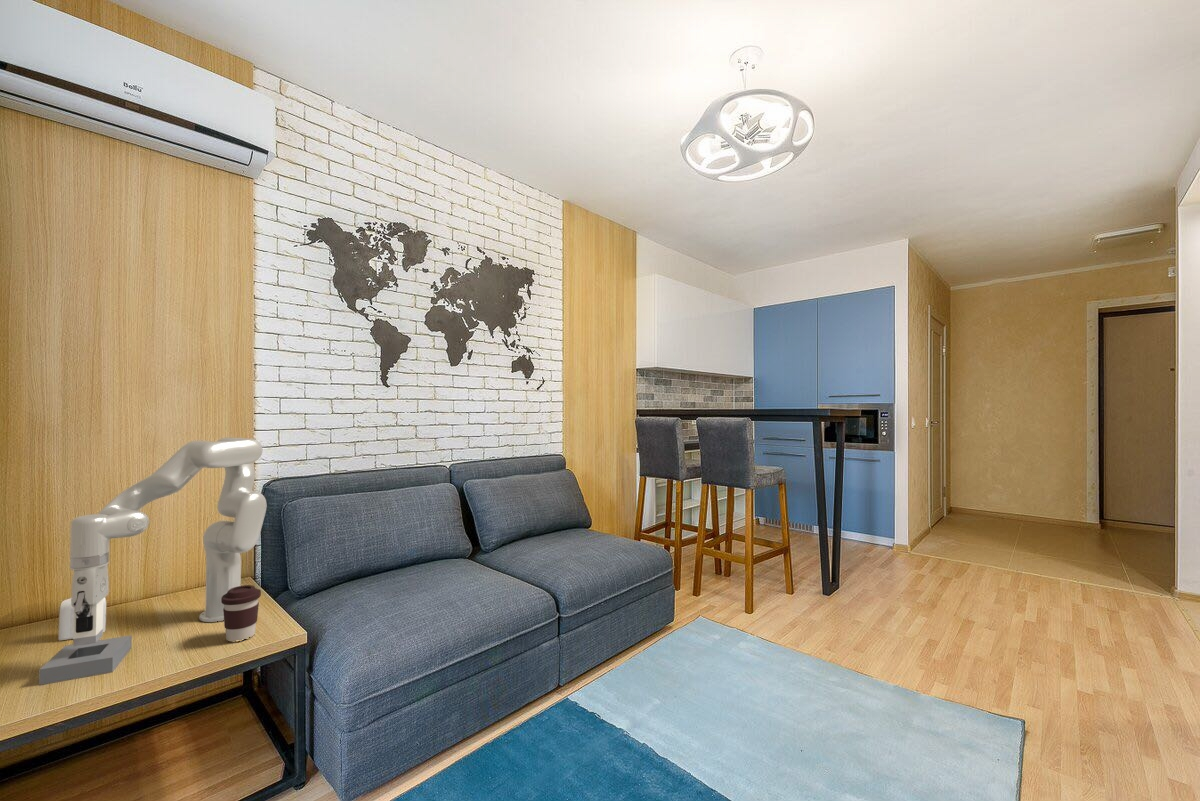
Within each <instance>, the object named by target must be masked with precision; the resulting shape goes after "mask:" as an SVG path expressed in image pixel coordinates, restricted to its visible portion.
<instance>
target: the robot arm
mask: <svg viewBox="0 0 1200 801" xmlns="http://www.w3.org/2000/svg"><path fill="white" fill-rule="evenodd" d="M262 454H263V446H262V444H261V443H260V442H259V441H258V440H256V439H254V438H246V437H245V438H243V437H224V438H220V439H218V440H217V441H210V440H192V441H189V442H187V443H185V444H184V445H183V446H181V448H179V449H178V450H177V451H176V452H175V453H174V454H173V455H171V457H170V458H169V459H167V461H166V462H164V463H163V464H162V465H161V466H160V467H159V468H158V469H157V470H155V471H154V472H153V473H152V474H151V475H149V476H148V477H146V478H144V479H142V480H140V481H139V482H136V483H134V484H133V485H132V486H130V487H128V488H125V490H123V491H121V492H120V493H119V494H118V495H116V496H115V497H114V498H113V499H112V500H110V502H108V503H107V504H106V505H105V506H104V507H103V508H102V509H101V510H100V511H99V512H98V513H94V514H85V515H80V516H79V515H78V516H77V517H75V518H73V520H72V521H71V523H70V551H69V552H70V556H69V557H70V558H69V560H70V562H69V570H70V571H73V572H72V573H73V574H72V582H71V597H70V598H71V604H72V607H74V608H75V609H74V612H75V613H76V633H80V632H87V631H91V630H92V629H93V615H91V613H92V605H96V604H97V603H99V602H100V601H101V600H102V599H103V598H105V599H106V597H107V596H108V595H109V593H110V583H109V564H110V540H111V539H119V538H131V537H135V536H138V535H139V534H142V533H144V532H145V531H146V530H147V529H148V527H149V524H150V518H149V516H148V515H147V514H146V513H145V512H143V511H141V510H140V509H141V508H143V507H145V506H146V505H147V504H150V503H151V502H153V501H155V500H159V499H161V498H164V497H167V496H171V495H173V494H175V493H178V492H180V491H181V490H182V489H183V488H184V487H185V486H186V485H187V484H188V483H189V482H191V480H192V479H193V478H194V477H195V476H197V474H198V473H199V472H200V471H202V469H204V468H205V469H220V468H224V471H225V476H224V481H223V484H222V487H221V491H220V495H219V498H218V502H217V505H216V506H217V507H216V508H217V512H218V513H219V514H220V515H222V516H224V517H227V518H234V520H233V521H232V520H219V521H216V522H213V523H212V524H210V525H209V526H208V527H207V528H206V529H205V531H204V533H203V536H202V538H203V539H202V541H203V548H204V552H205V561H206V563H205V569H206V570H205V610H204V611H203V612H201V613H200V614H199V615H198V616H199V620H200V621H201V622H204V623H216V622H217V621H218V622H224V621H223V620H224V612H223V609H224V604H222V602H221V598H222V596H223V595H225V594H226V593H227V592H228V591H229V590H230V589H232V588H234V587H238V586H242V578H241V577H242V574H241V573H242V556H241V554H242V553H243V554H245V553H247V552H249V551H251V550H252V549H253V548H254V547H255V546H256V545H257V543H258V541H259V539H260V536H261V531H262V528H263V524H264V520H265V517H266V513H267V507H268V506H267V499H266V497H265V496H264V495H263V494H262V493H261V492H259V491H256V490H253V488H254V482H255V478H256V477H255V476H256V469H255V466H254V464H253V463H256V462H257V461H258V460H259V459H260V458H261V457H262ZM76 601H77V602H76ZM75 603H76V604H75ZM84 603H88V605H84ZM85 607H88V610H86V609H84V608H85ZM218 622H217V623H218Z"/></svg>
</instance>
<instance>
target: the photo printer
mask: <svg viewBox="0 0 1200 801" xmlns="http://www.w3.org/2000/svg"><path fill="white" fill-rule="evenodd" d="M58 618H59V619H58V641H65V640H66V641H67V640H71V639H72V640H73V624H74V607H72V604H71V597H70V598H66V599H64V600H63V601H61V604H60V606H59V615H58ZM106 623H107V598H106V597H105V598H103V632H104V633H105V632H106V625H107V624H106Z"/></svg>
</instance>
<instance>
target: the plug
mask: <svg viewBox="0 0 1200 801" xmlns="http://www.w3.org/2000/svg"><path fill="white" fill-rule="evenodd" d="M76 602H77V601H76ZM75 604H76V603H75ZM84 605H88V603H84ZM74 609H75V608H74ZM84 609H86V610H88V607H85V608H84ZM91 615H93V629H92V630H91V631H87V632H80V633H76V613H75V612H74V624H73V639H72V644H73V646H79V645H86V644H92V643H96V642H97V641H98V640H101V638H103V634H104V633H103V599H102V600H101V601H100V602H99V603H97V604H96V605H92V613H91Z"/></svg>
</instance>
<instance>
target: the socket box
mask: <svg viewBox="0 0 1200 801" xmlns="http://www.w3.org/2000/svg"><path fill="white" fill-rule="evenodd" d="M132 639H133V638H132V635H126V636H125V635H123V636H119V637H118V636H117V637H112V638H106V639H99V640H98V641H97V642H96V643H92V644H86V645H79V646H73V643H72V644H67V645H65V646H63V647H62V648H61V649H60V650H59V651H58V652H57V653H56V654H54V655H53V656H52V657H51V658H50V659H49V660H48V661H47V662H46V663H45V664H43V665H42V666H41V667H40V668H39V669H38V673H39V674H38V681H39V682H38V686H43V685H48V684H53V683H58V682H64V681H71V680H76V679H82V678H87V677H93V675H94V676H99V675H105V674H110V673H113V672H114V671H115V670H116V668H118V666H119V665H120V664H121V663H122V661H123V660H124V659H125V657H126V656H127V655H128V654H129V653H130V652H131V650H132ZM130 649H131V650H130ZM127 653H128V654H127Z"/></svg>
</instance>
